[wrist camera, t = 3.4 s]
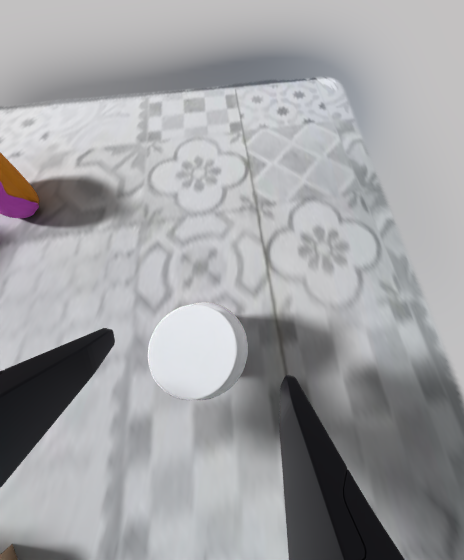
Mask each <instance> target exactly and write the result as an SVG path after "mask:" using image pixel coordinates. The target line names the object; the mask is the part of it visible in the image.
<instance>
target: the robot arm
mask: <svg viewBox="0 0 464 560" xmlns="http://www.w3.org/2000/svg"><path fill="white" fill-rule="evenodd" d="M114 343H115V339H114V334H113V331H112V330H111V329H107V328H103V329H100V330H98V331H96V332H93V333H91V334H88V335H86V336H84V337H81V338H79V339H76V340H74V341H72V342H69V343H67V344H64V345H62V346H60V347H57V348H55V349H53V350H50V351H48V352H45V353H43V354H41V355H38V356H36V357H33V358H31V359H29V360H26V361H24V362H21V363H19V364H17V365H14V366H12V367H9V368H7V369H5V370H2V371H0V487H2V485H3V484H4V483H5V482H6V481H7V479H8V478H9V477H10V476H11V475H12V473H13V472H14V471H15V470H16V468H17V467H18V466H19V465H20V464H21V462H22V461H23V460H24V459H25V457H26V456H27V455H28V454H29V453H30V451H31V450H32V449H33V448H34V446H35V445H36V444H37V443H38V442H39V440H40V439H41V438H42V437H43V436H44V434H45V433H46V432H47V431H48V429H49V428H50V427H51V426H52V425H53V423H54V422H55V421H56V420H57V418H58V417H59V416H60V415H61V414H62V412H63V411H64V410H65V409H66V407H67V406H68V405H69V404H70V403H71V401H72V400H73V399H74V398H75V397H76V395H77V394H78V393H79V392H80V390H81V389H82V388H83V387H84V386H85V384H86V383H87V382H88V381H89V379H90V378H91V377H92V376H93V374H94V373H95V372H96V370H97V369H98V368H99V366H100V365H101V363H102V362H103V360H104V359H105V357H106V356H107V354H108V353H109V351H110V350H111V348H112V347H113V345H114ZM279 426H280V442H281V455H282V469H283V483H284V496H285V510H286V524H287V538H288V551H289V560H405V559H404V558H403V556H402V555H401V553H400V552H399V550H398V549H397V547H396V546H395V544H394V543H393V541H392V540H391V538H390V537H389V535H388V534H387V532H386V530H385V529H384V527H383V526H382V524H381V523H380V521H379V520H378V518H377V516H376V515H375V513H374V512H373V510H372V509H371V507H370V505H369V504H368V502H367V500H366V499H365V497H364V495H363V494H362V492H361V490H360V489H359V487H358V485H357V484H356V482H355V480H354V479H353V477H352V475H351V473H350V472H349V470H347V467H346V465H345V463H344V461H343V460H342V458H341V456H340V454H339V453H338V451H337V449H336V447H335V446H334V444H333V442H332V440H331V439H330V437H329V435H328V433H327V432H326V430H325V428H324V427H323V425H322V423H321V421H320V420H319V418H318V416H317V414H316V413H315V411H314V409H313V407H312V406H311V404H310V402H309V400H308V399H307V397H306V395H305V394H304V392H303V390H302V388H301V387H300V385H299V383H298V381H297V380H296V378H295V377H294V376H290V375H286V376H285V378H284V380H283V382H282V384H281V388H280V421H279Z"/></svg>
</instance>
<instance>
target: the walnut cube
mask: <svg viewBox="0 0 464 560" xmlns="http://www.w3.org/2000/svg"><path fill="white" fill-rule="evenodd" d="M0 560H18V559H17V556H16V553H15V550H14V547H13V544H12V545H10V546H9V547H8V548H7V549H6V550H5V551H4V552H3V553H2V554H1V555H0Z"/></svg>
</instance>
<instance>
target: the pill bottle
mask: <svg viewBox="0 0 464 560" xmlns="http://www.w3.org/2000/svg"><path fill="white" fill-rule="evenodd" d="M247 356H248V341H247V337H246V333H245V330H244V328H243V326H242V324H241V322H240V321H239V320H238V318H237V317H236V316H235V315H234V314H233V313H232V312H231V311H229V310H228V309H226V308H225V307H223V306H221V305H218V304H214V303H209V302H201V303H195V304H191V305H186V306H182V307H179V308H177V309H175V310H173V311H172V312H170V313H169V314H168V315H166V316H165V317H164V318H163V319H162V320H161V321H160V322H159V324H158V325H157V327H156V328H155V330H154V332H153V334H152V336H151V339H150V343H149V348H148V362H149V368H150V371H151V374H152V376H153V378H154V380H155V381H156V383H157V384H158V385H159V387H160V388H161V389H162V390H164V391H165V392H166V393H168V394H169V395H171V396H173V397H176V398H179V399H183V400H206V399H211V398H214V397H216V396H219V395H221V394H222V393H224V392H226V391H227V390H228V389H230V388H231V387H232V386H233V385H234V384H235V383H236V381H237V380H238V379H239V377H240V376H241V374H242V372H243V370H244V367H245V364H246V361H247Z"/></svg>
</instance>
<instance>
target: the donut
mask: <svg viewBox="0 0 464 560" xmlns="http://www.w3.org/2000/svg"><path fill="white" fill-rule="evenodd" d="M38 205H39V198H38V195H37V193H36V192H35V190H34V189H33V188H32V186H31V185H30V184H29V183H28V182H27V180H26V179H25V178H24V177H23V176H22V175H21V174H20V173H19V171H18V170H17V169H16V168H15V167H14V166H13V165H12V164H11V163H10V162H9V161H8V160H7V159H6V158H5V157H4V156H3V155H2V154H1V153H0V214H2V215H5V216H8V217H12V218H27V217H30V216H32V215H33V214H35V211H36V210H37V209H38V208H39V206H38Z"/></svg>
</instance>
